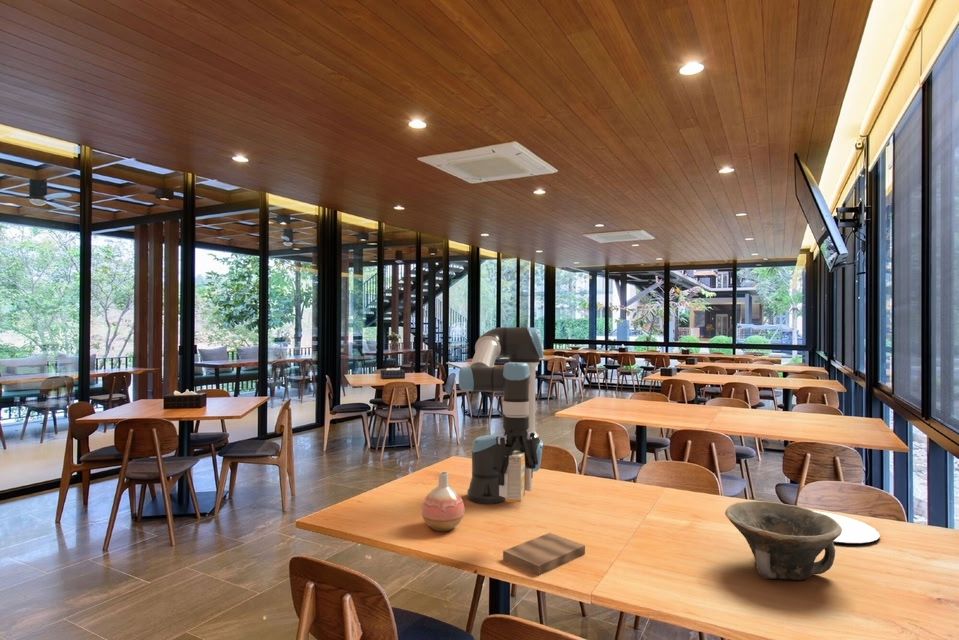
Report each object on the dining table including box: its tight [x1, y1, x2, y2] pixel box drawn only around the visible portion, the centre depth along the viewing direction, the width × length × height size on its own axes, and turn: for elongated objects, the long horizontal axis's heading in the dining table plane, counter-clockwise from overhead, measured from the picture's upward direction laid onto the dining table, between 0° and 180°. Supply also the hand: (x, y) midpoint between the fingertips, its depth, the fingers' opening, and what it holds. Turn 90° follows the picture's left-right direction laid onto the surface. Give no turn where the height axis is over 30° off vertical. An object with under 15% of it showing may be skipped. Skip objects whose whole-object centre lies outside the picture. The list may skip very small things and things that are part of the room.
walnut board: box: [502, 532, 586, 577], centre depth 152 cm, size 20×13×2 cm, turn 133°
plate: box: [813, 510, 881, 545], centre depth 175 cm, size 29×29×2 cm
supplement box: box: [504, 451, 526, 504], centre depth 158 cm, size 8×5×13 cm, turn 166°
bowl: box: [724, 500, 842, 581], centre depth 143 cm, size 27×26×15 cm
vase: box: [421, 471, 465, 532], centre depth 174 cm, size 14×14×18 cm
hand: (515, 493), depth 157 cm, fingers closed on supplement box, 9 cm apart
